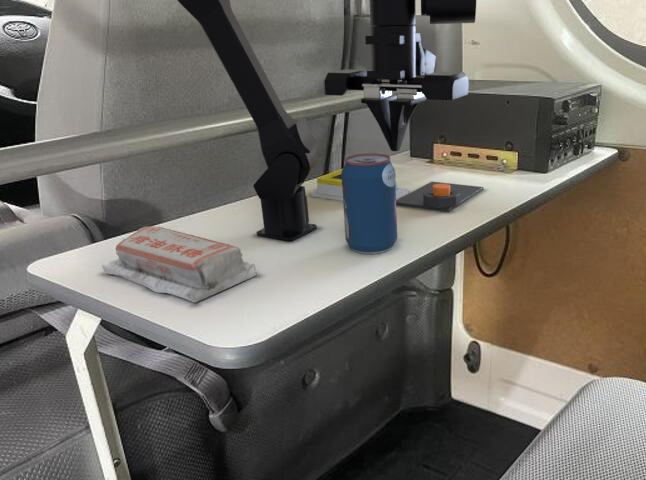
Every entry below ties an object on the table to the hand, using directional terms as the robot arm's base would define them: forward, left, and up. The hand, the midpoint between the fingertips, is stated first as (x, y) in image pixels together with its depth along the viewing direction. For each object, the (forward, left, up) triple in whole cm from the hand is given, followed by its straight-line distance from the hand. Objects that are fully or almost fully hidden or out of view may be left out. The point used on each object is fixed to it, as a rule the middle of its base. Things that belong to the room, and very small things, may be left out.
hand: (395, 150), depth 85 cm
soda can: (-7, 0, -12) cm, 14 cm away
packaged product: (-26, +17, -12) cm, 33 cm away
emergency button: (+14, +16, -12) cm, 24 cm away
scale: (+18, +2, -12) cm, 21 cm away
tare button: (+13, 0, -10) cm, 17 cm away
